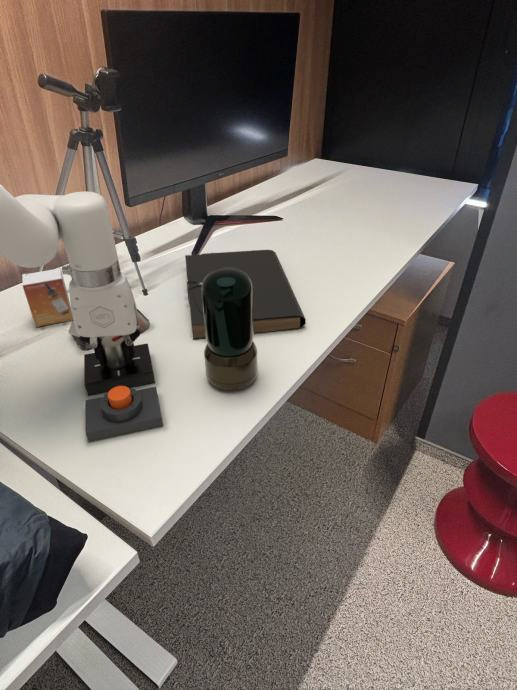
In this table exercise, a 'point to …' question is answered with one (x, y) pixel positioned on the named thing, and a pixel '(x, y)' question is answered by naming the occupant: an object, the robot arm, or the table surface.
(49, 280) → the small box
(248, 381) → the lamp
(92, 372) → the dial panel
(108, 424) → the button block
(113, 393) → the button
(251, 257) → the dark brown book
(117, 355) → the dial
